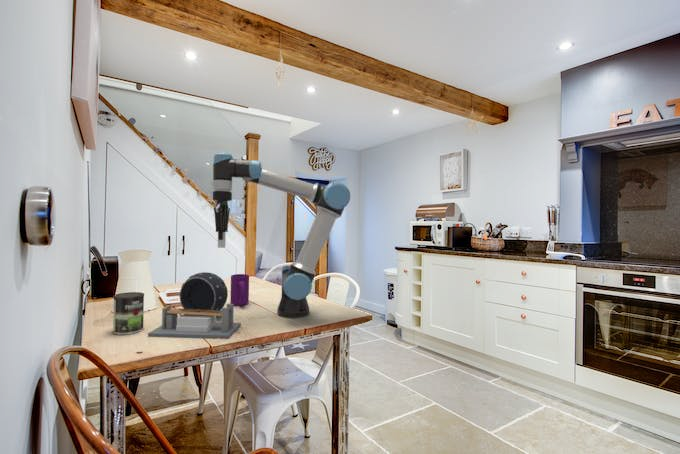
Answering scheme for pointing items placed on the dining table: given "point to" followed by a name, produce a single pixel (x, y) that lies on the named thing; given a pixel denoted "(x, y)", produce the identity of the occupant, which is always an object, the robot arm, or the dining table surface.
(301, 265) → the robot arm
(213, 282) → the black short cylinder
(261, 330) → the dining table surface
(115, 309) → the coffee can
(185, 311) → the strap
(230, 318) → the grey fixture stand
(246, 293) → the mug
